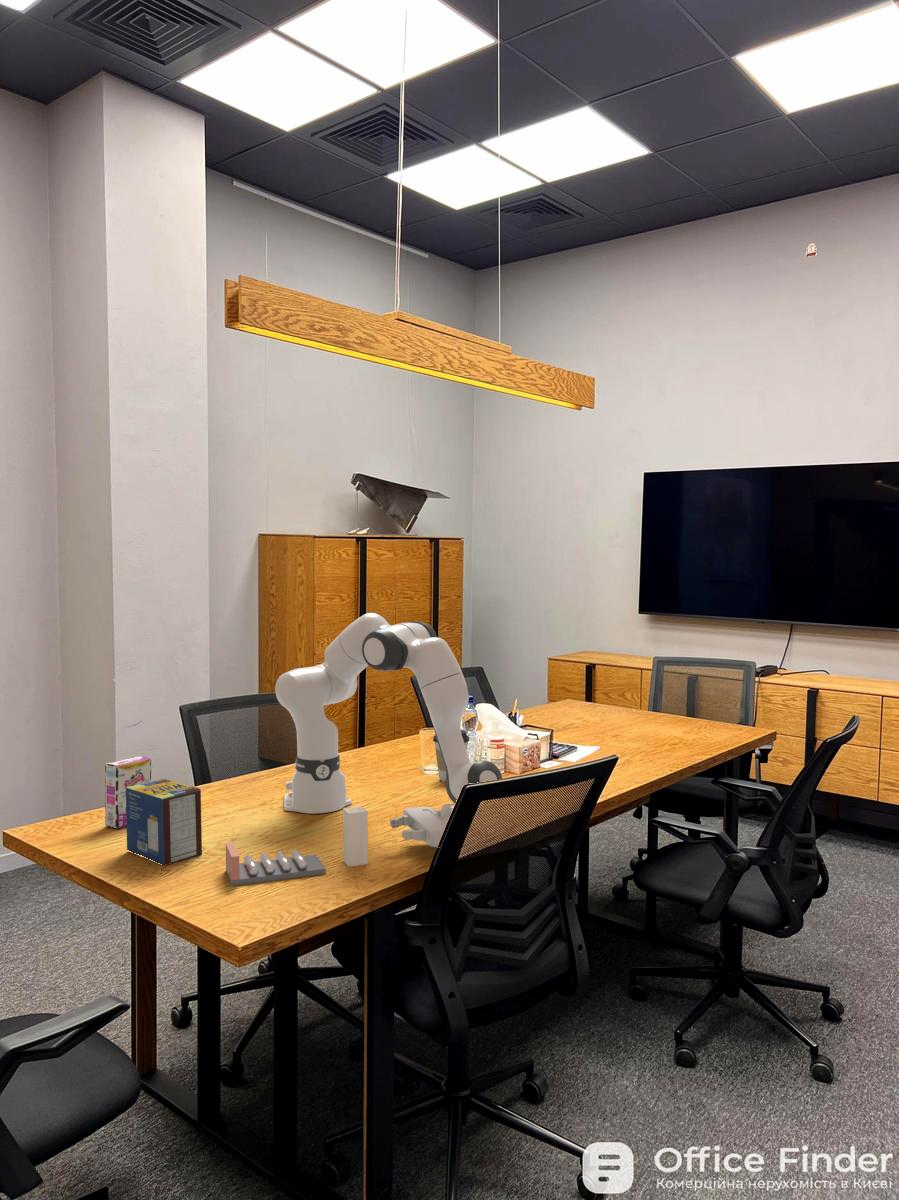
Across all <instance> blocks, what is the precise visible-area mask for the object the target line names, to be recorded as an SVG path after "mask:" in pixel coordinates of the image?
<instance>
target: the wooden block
mask: <svg viewBox="0 0 899 1200" xmlns="http://www.w3.org/2000/svg"><path fill="white" fill-rule="evenodd" d="M368 815H369V814H368V810H367V809H366V808H365V807H364V806H361V805H360V806H353V807H343V808H342V832H343V833H342V842H343V843H342V846H343V847H342V850H343V852H342V854H343V855H342V856H343V857H342V858H343V860H344V861H343V862H344V863H345V865H346V866H347V867H357V866H364V865H365V864H366V865H368V864H369V860H368V859H369V850H368V848H369V846H368V845H369V842H368V841H369V840H368V839H369V834H368V833H369V832H368V831H369V830H368V827H369V826H368V825H369V824H368V820H369V819H368Z"/></svg>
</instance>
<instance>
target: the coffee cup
mask: <svg viewBox="0 0 899 1200" xmlns="http://www.w3.org/2000/svg"><path fill="white" fill-rule="evenodd" d="M461 734H462V737H463V741H464V744H465V747H466V750H467V751H468V742H470V736H469V735H468V734H467V732H466V730H464V729H461ZM432 741H433V742H434V748H435V756H436V764H437V773H438V778H439V781H440V780H441V781H440V782H442V781H445V782H444V783H446V769H445V765H444V761H443V758H442V755H441V751H440V748H439V745H438V741H437V738H436V735H433V737H432Z"/></svg>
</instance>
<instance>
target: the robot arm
mask: <svg viewBox="0 0 899 1200" xmlns="http://www.w3.org/2000/svg"><path fill="white" fill-rule="evenodd" d="M323 658H324V661H323V663H320V664H318V665H313V666H307V667H299V668H293V669H291V670H289V671H287V672H284V673H282V674H281V675H280V676H278V678H277V679H276V683H275V687H274V688H275V689H274V690H275V696H276V699H277V701H278V703H279V704H280V705H281V706H282V707H284V708H285V709H286V710H287V711H288V712H289V714H290V716H291V717H292V720H293V722H294V726H295V729H296V742H297V743H296V746H297V747H296V748H297V751H296V752H297V755H296V757H295V770H294V771H295V772H294V773H293V775H292V778H291V781H286V782H285V787H286V789H285V790H286V791H288V792H287V793H285V794H284V798H283V799H284V801H283V811H287V812H298V813H304V814H325V813H332V812H336V811H340V810H343V808H346V806H350V805H352V803H353V801H352V799H350V798H349V797H347V790H346V789H347V788H346V787H347V785H346V775H345V774H344V773H343V772H342V771H341V770H340V768H341V759H340V754H339V730H338V727H337V725H336V724H335V722H333V721H331V720H329V719H328V718H327V716H326V714H325V706H328V705H332V704H334V705H335V704H338V703H341V702H343V701H346V700H347V699H348V700H349V699H350V698H352V697H353V696H354V695H355V693H356V691H357V688H358V676H359V675H360V673H362V671H364V670H365V669H366V668H367V667H368V666H369V667H370V668H372V669H373V670H376V671H382V672H390V671H391V672H392V671H401V670H403V668H407V669H410V671H412V673H413V674H414V675H415V678H416V680H417V683H418V687H419V689H420V692H421V694H422V697H423V700H424V702H425V705H426V707H427V710H428V713H429V716H430V720H431V723H432V726H433V731H434V734H435V735H436V738H437V741H438V745H439V748H440V751H441V755H442V758H443V761H444V765H445V769H446V782H445V790H446V793H447V796H448V798H449V799H450V801H452V803H446V804H443V805H442V806H441V808H440V810H437V809H436V808H434V807H431V806H420V807H419V806H416V807H415V806H413V807H407V808H405V809H403V815H401V816H399V817H396V818H390V819H389V826H390V827H391V828H392V829H394V828H395V829H397V828H399V827H402V826H406V827H408V828H409V829H406V830H404V829H403V831H402V832H401V834H402V836H401V838H402V839H404V840H405V841H408V840H409V841H410V840H413V841H423V842H424V843H425V844H427V845H428V846H429V847H431V848H439V847H438V845H439V842H440V839H441V837H442V835H443V832H444V830H445V827H446V824H447V822H448V820H449V817H450V815H451V813H452V810H453V808H454V806H455V803H456V800H457V798H458V795H459V793H460V791H461V789H462V788H463V786H464V785H466V784H469V783H477V782H486V781H492V780H499V779H503V776H502V775H503V774H502V772H501V770H500V769H499V767H498V766H497V765H496V764H495V763H493V762H491V761H489V760H478V761H475V762H471V760H470V757H469V754H468V749H467V750H466V747H465V744H464V741H463V737H462V734H461V730H462V728H461V723H462V718H463V715H464V713H465V710H466V708H467V706H468V704H469V699H470V695H469V690H468V684H467V682H466V679H465V676H464V673H463V671H462V668H461V666H460V664H459V662H458V659H457V658H456V656H455V654H454V652H453V650H452V649H451V648H450V646H449V644H448V643H447V641H446V640H445V639H443V638H441V637H438V636H437V633H436V631H435V630H434V628H433V627H432V626H431V625H430V624H428V623H426V622H422V621H408V622H407V621H406V622H400V623H396V624H393V625H391V624H389V622H388V621H387V620H386V618H385V617H383V616H382V615H380V614H378V613H375V612H367V613H365V614H362V615H361V616H360V617H358V618H356V619H355V620H354V621H353V622H351V623H349V624H348V625H347V626H346V627H345V628H344V629H343V630H342V631H341V632H340V633H339V634H338V635H337V636H336V637H335V638H334V639H333V640H332V641H331V643H329V645H328V646H327V647H326V648H325V650H324V657H323ZM435 735H434V736H435ZM289 791H290V792H289Z"/></svg>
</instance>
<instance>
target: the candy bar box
mask: <svg viewBox="0 0 899 1200" xmlns="http://www.w3.org/2000/svg"><path fill="white" fill-rule="evenodd" d="M148 782H152V758H151V757H150V758H149V757H146V756H135V757H131V758H130V757H129V758H126V759H122V760H121V759H120V760H116V761H112V762H107V763H105V764H104V787H105V788H104V793H105V796H104V803H105V804H104V805H105V806H104V807H105V808H104V811H105V812H104V814H105V815H104V819H105V820H104V821H105V822H104V823H105V824H104V826H105V827H106V826H107V827H106V828H109V827H112V828H111V829H113V828H116V829H115V830H119V829H118V828H120V829H122V827H123V828H125V827H124V826H126V827H127V824H126V787H129V786H134V785H139V784H143V783H148Z"/></svg>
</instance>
